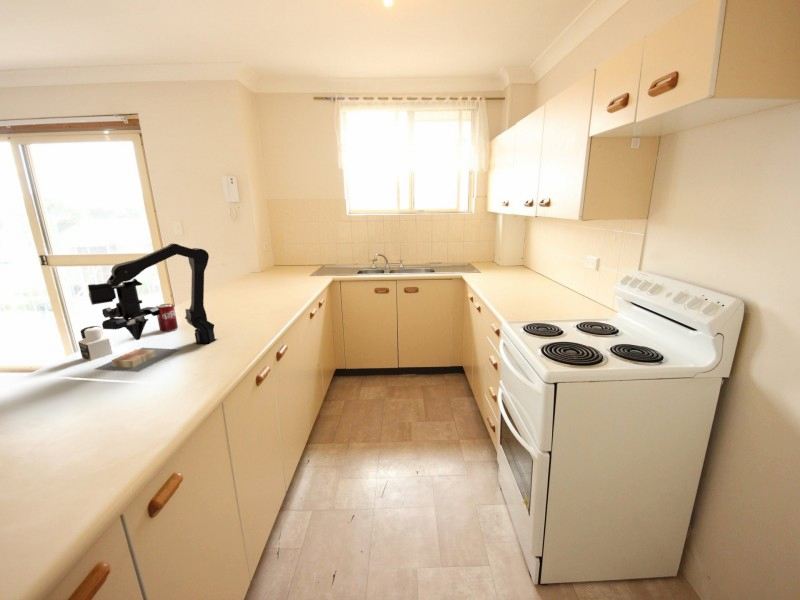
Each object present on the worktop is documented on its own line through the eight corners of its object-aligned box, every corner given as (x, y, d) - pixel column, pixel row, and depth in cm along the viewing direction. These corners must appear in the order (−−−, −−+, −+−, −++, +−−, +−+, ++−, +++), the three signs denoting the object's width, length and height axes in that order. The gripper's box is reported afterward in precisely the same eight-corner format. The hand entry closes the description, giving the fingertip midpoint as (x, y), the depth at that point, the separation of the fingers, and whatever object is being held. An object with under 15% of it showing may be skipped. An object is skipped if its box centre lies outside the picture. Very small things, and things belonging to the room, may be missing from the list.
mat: (182, 350, 141) (181, 349, 141) (138, 373, 122) (138, 371, 121) (142, 349, 144) (142, 347, 143) (94, 370, 124) (93, 369, 124)
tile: (154, 350, 134) (131, 361, 124) (155, 356, 134) (132, 367, 125) (136, 349, 135) (111, 360, 125) (137, 355, 136) (113, 366, 126)
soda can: (181, 327, 170) (177, 303, 167) (170, 332, 163) (165, 307, 160) (167, 327, 171) (163, 303, 168) (156, 332, 164) (151, 307, 161)
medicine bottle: (82, 358, 135) (74, 329, 132) (104, 352, 141) (97, 323, 138) (91, 362, 132) (83, 331, 129) (113, 355, 138) (106, 326, 135)
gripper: (131, 292, 137) (140, 330, 141) (83, 305, 119) (94, 348, 123) (157, 293, 136) (164, 331, 140) (111, 306, 118) (122, 349, 122)
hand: (137, 339), depth 131 cm, fingers closed
